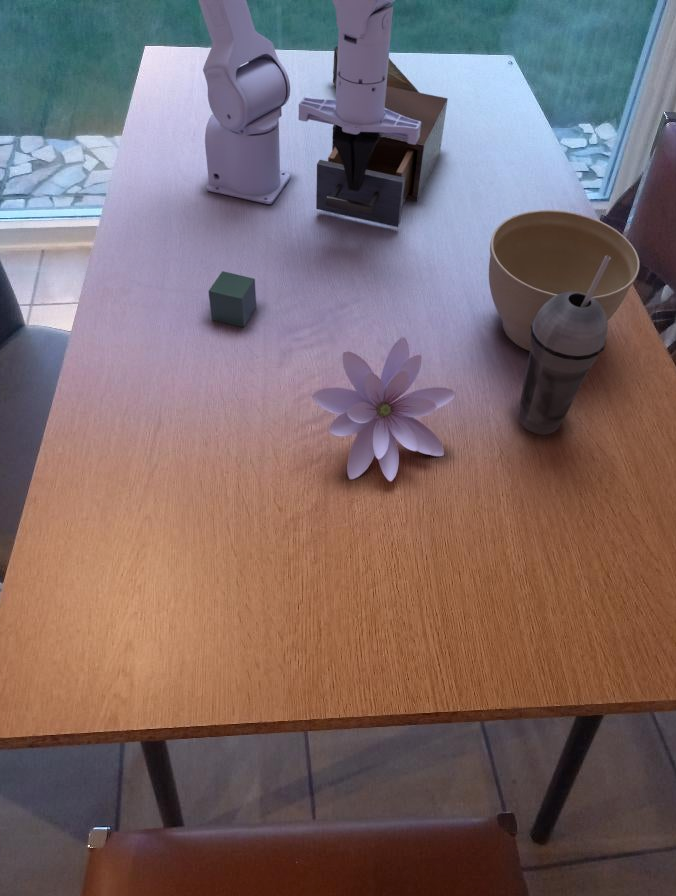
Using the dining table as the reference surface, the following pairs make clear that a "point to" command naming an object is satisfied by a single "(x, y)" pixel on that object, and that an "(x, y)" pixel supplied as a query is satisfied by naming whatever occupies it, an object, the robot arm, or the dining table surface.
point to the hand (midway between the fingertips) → (355, 186)
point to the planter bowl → (555, 265)
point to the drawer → (368, 185)
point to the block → (232, 299)
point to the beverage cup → (561, 355)
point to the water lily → (383, 410)
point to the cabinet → (431, 130)
